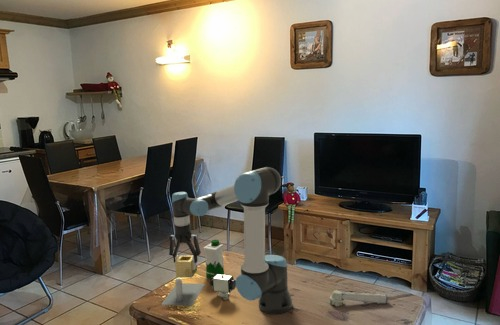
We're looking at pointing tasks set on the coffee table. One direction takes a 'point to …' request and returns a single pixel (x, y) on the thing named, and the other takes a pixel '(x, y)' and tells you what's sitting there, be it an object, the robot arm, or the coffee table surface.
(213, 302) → the coffee table surface
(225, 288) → the pneumatic valve
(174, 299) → the post plate
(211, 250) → the milk carton
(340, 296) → the beige knobbed bar
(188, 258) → the collar
